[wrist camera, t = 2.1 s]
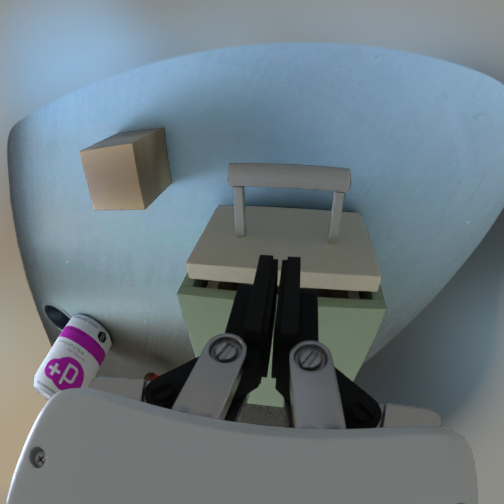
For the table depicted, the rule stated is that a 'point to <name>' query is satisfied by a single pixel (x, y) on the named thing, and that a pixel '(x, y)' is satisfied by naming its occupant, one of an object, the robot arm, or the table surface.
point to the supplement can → (73, 357)
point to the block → (127, 170)
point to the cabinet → (329, 324)
